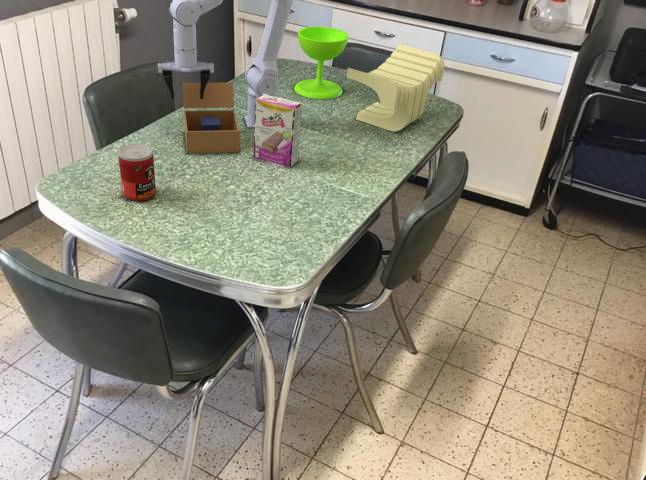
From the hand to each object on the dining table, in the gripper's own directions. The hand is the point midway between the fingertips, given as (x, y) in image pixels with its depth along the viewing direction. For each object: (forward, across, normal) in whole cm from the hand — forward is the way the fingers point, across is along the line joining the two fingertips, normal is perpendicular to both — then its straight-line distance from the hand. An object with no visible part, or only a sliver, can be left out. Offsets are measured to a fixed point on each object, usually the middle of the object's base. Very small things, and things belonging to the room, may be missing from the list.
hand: (187, 98), depth 173 cm
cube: (+10, +6, -5) cm, 12 cm away
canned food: (+10, -13, -33) cm, 37 cm away
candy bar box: (+10, +22, -18) cm, 30 cm away
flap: (0, +6, +2) cm, 6 cm away
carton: (+10, +6, -7) cm, 13 cm away
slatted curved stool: (+10, +60, +6) cm, 62 cm away
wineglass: (+10, +44, +31) cm, 54 cm away
